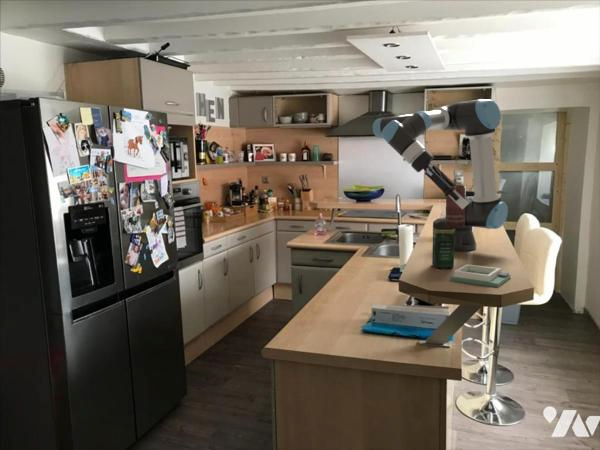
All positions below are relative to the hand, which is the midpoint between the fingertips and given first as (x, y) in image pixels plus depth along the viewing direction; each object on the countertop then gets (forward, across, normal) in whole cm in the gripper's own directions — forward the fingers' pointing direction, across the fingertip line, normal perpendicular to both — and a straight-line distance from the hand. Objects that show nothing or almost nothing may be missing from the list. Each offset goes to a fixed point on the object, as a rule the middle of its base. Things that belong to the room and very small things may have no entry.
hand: (466, 205), depth 165 cm
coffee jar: (+12, -18, -26) cm, 34 cm away
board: (+22, -3, -15) cm, 27 cm away
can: (+3, 0, -8) cm, 8 cm away
